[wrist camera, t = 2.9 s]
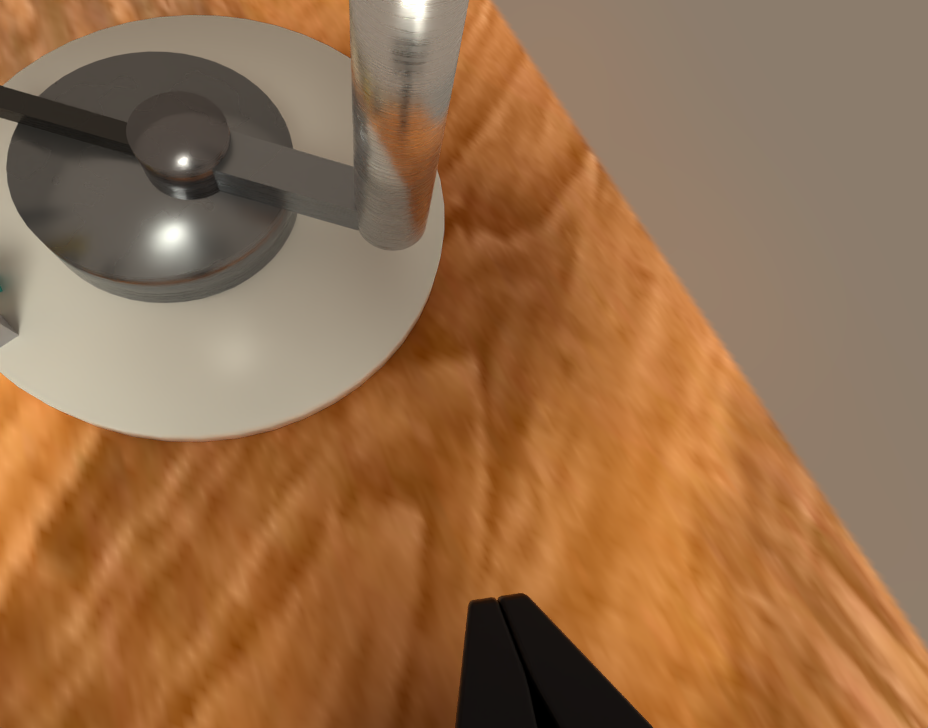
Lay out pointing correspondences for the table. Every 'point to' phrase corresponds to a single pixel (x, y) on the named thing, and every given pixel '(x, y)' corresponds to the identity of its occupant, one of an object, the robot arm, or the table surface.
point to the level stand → (233, 311)
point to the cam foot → (227, 158)
